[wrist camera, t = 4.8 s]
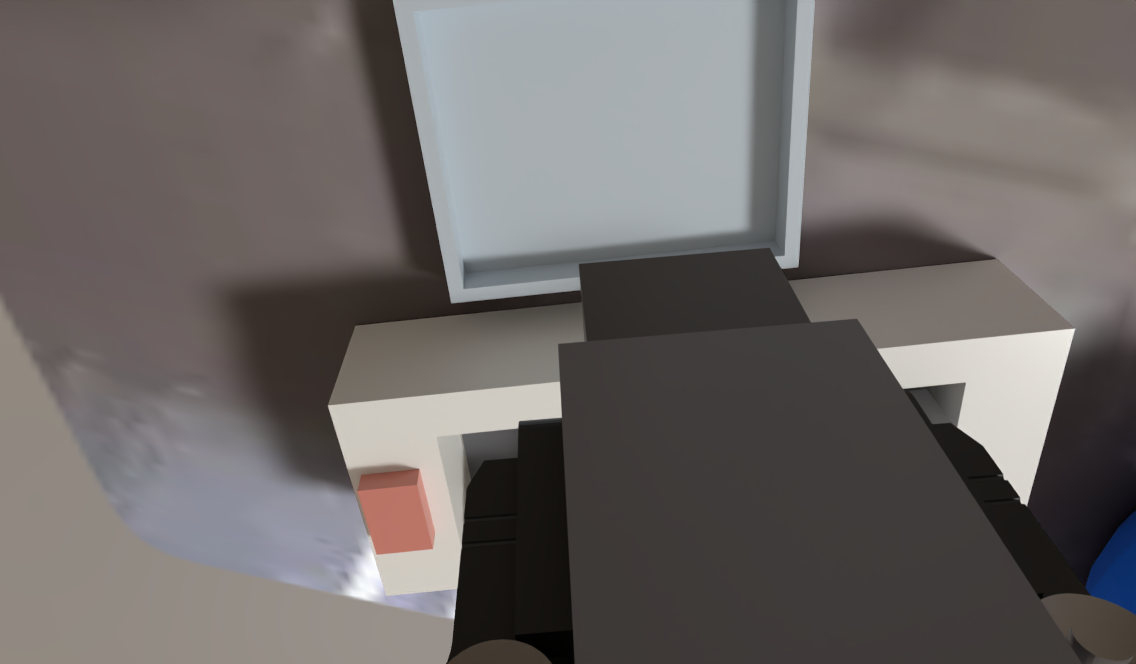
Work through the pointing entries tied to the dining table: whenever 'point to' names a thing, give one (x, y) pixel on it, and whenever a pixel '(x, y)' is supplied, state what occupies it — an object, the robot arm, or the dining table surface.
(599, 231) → the tray
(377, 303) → the dining table surface
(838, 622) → the plug
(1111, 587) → the blue rounded piece
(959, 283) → the pdu strip
